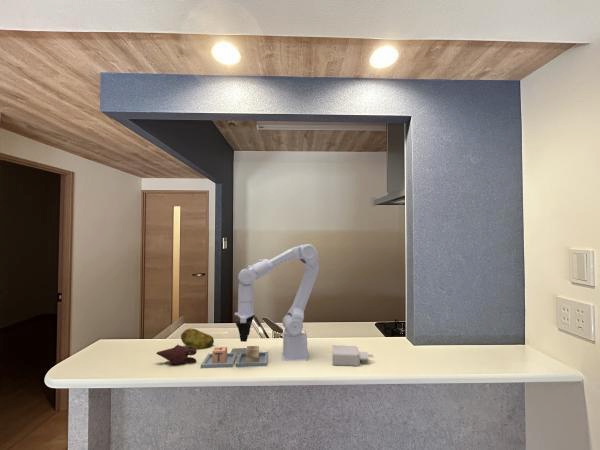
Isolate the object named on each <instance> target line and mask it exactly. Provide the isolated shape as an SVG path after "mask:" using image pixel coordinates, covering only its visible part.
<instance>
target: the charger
mask: <svg viewBox="0 0 600 450" xmlns="http://www.w3.org/2000/svg"><path fill="white" fill-rule="evenodd" d="M331 348H332V349H331V350H332V353H331V354H332V355H331V356H332V366H344V367H345V366H348V367H350V366H351V367H358V366H360V364H361V362H360V361H369V358H375V357H374V355H373V354H369V353H368V351H359V347H357V346H356V345H336V344H335V345H334V344H333V345H332V347H331Z"/></svg>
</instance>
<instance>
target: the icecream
mask: <svg viewBox="0 0 600 450" xmlns="http://www.w3.org/2000/svg"><path fill="white" fill-rule="evenodd" d="M197 353H198V352H197V349H193V348H190V349H189V348H188V349H187V347H185V346H182V345H179V344H177V345H175V346H174V347H172V348H167V349H164V350H160V351H157V352H156V355H158V356H160V357H162V358H163V359H165V360H168V361H169V363H170V364H171V365H173V366H174V365H180V364H181V365H182V364H183V363H185V362H186V363H188V364H196V363H197V359H196V358H195V357H192V356H195V355H196V354H197ZM190 356H191V357H190Z"/></svg>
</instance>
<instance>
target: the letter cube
mask: <svg viewBox="0 0 600 450" xmlns="http://www.w3.org/2000/svg"><path fill="white" fill-rule="evenodd" d="M227 353H228V346H215V347H214V348H213V350H212V352H211V354H212V363H225V362H226V360H227Z"/></svg>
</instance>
